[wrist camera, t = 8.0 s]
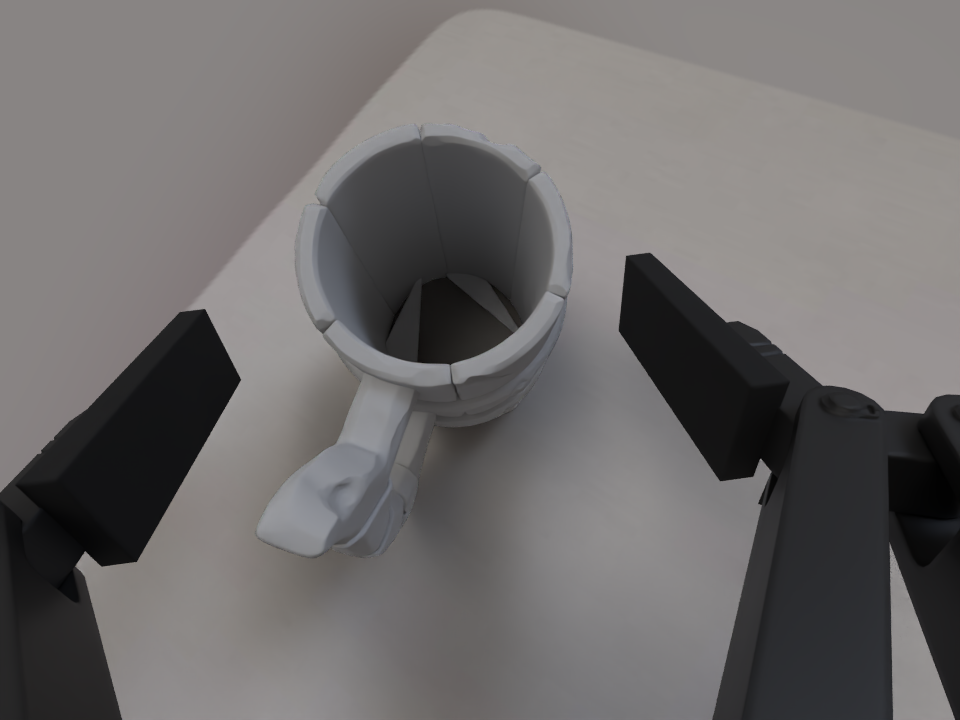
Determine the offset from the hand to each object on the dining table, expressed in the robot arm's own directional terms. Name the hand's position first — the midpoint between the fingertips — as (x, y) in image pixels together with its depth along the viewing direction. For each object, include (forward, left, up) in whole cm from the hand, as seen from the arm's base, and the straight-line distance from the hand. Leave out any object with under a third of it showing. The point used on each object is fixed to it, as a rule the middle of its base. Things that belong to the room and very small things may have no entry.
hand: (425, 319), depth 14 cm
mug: (+1, -1, -5) cm, 6 cm away
